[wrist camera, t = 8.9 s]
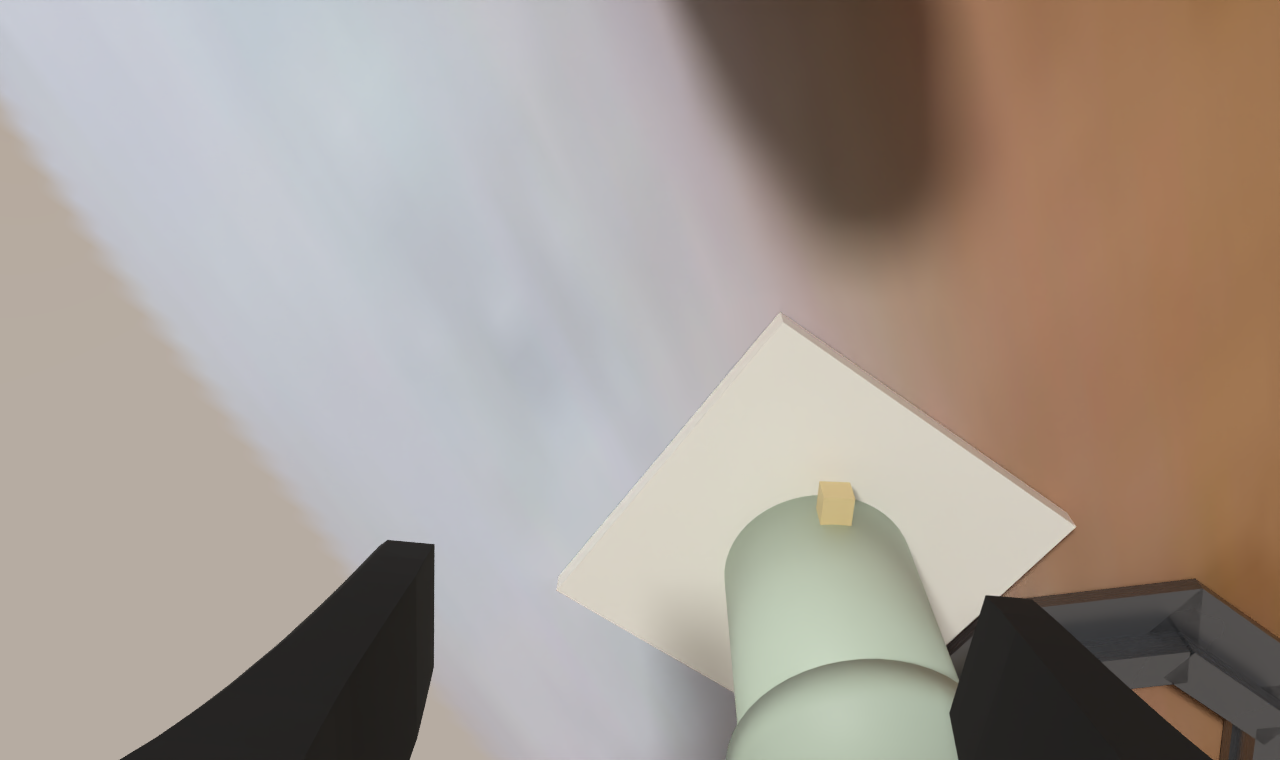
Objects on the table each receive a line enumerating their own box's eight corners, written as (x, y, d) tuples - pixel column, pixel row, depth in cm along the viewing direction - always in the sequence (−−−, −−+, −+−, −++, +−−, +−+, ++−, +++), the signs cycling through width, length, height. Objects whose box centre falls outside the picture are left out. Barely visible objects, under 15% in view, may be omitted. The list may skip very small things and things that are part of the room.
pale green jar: (905, 671, 26) (983, 920, 19) (705, 663, 26) (718, 910, 19) (942, 473, 23) (1046, 686, 17) (720, 465, 23) (740, 675, 17)
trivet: (1066, 512, 24) (1076, 526, 24) (828, 732, 28) (831, 749, 27) (779, 312, 22) (783, 322, 22) (559, 575, 25) (556, 590, 25)
